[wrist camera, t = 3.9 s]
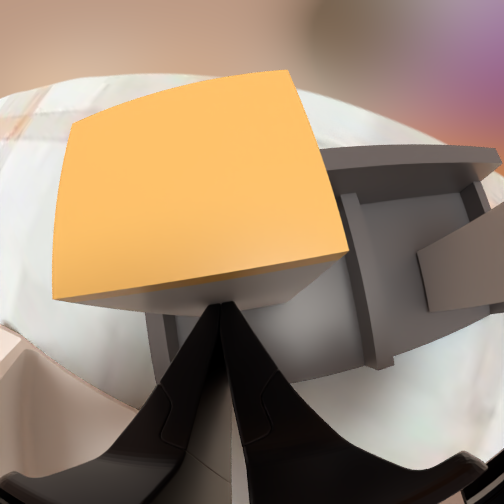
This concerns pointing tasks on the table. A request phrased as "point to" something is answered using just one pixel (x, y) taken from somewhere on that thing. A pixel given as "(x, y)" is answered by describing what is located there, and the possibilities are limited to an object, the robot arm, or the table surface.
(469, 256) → the key plain
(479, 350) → the table surface
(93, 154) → the key marked
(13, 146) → the table surface
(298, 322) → the dark grey divided tray
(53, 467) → the tablet stand
